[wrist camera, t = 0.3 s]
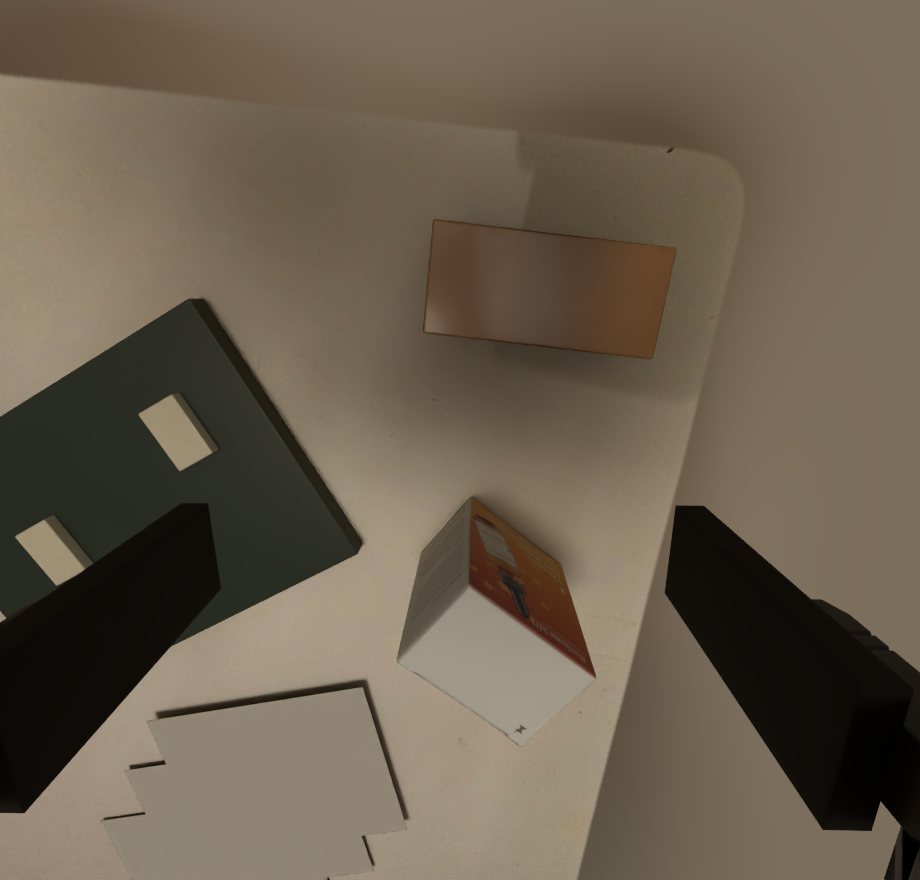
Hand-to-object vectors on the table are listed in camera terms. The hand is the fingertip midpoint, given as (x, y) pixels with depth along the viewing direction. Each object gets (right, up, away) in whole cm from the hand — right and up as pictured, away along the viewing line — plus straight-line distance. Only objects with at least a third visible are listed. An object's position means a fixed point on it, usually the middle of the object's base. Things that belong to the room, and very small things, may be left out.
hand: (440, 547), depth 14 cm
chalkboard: (-21, -2, +19) cm, 28 cm away
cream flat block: (-25, -4, +18) cm, 31 cm away
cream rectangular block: (-16, +4, +16) cm, 23 cm away
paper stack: (-16, -28, +26) cm, 41 cm away
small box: (+3, -5, +19) cm, 20 cm away
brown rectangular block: (+5, +12, +14) cm, 19 cm away
